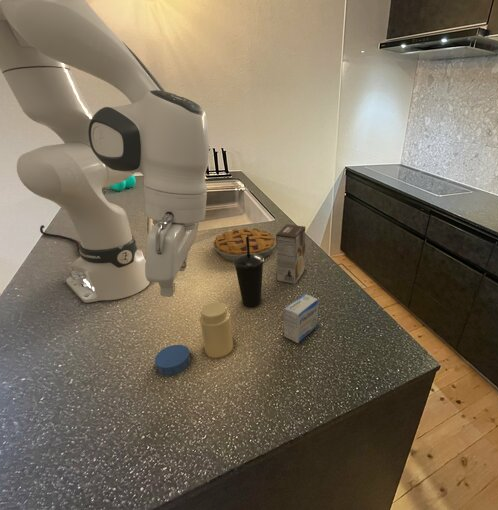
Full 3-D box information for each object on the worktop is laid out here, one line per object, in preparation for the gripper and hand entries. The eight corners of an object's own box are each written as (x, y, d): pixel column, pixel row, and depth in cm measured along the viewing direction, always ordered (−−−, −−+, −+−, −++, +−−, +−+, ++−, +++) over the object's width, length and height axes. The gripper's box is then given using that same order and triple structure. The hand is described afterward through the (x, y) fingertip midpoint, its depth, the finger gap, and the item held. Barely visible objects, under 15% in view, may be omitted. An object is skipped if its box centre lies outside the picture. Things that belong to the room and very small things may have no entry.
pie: (264, 234, 126) (263, 222, 124) (285, 256, 110) (285, 244, 108) (208, 243, 115) (206, 230, 113) (222, 269, 99) (221, 256, 97)
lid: (173, 379, 61) (171, 371, 60) (149, 368, 63) (147, 361, 62) (197, 358, 66) (195, 350, 65) (175, 348, 68) (173, 341, 67)
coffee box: (286, 267, 104) (286, 223, 96) (304, 270, 103) (306, 226, 95) (276, 280, 96) (275, 234, 88) (296, 284, 95) (296, 237, 87)
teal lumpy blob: (107, 190, 160) (101, 171, 155) (122, 185, 168) (117, 167, 164) (124, 192, 159) (119, 173, 154) (138, 188, 167) (134, 169, 163)
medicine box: (298, 344, 72) (298, 315, 68) (283, 336, 74) (283, 307, 70) (317, 326, 78) (319, 299, 74) (303, 319, 80) (304, 292, 76)
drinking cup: (240, 313, 80) (234, 245, 71) (235, 298, 86) (228, 233, 77) (269, 307, 84) (266, 241, 74) (261, 292, 89) (258, 229, 80)
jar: (199, 354, 67) (192, 315, 62) (214, 336, 72) (208, 298, 67) (224, 360, 66) (219, 320, 61) (237, 341, 71) (234, 303, 66)
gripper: (184, 227, 41) (181, 314, 46) (206, 194, 59) (202, 259, 64) (130, 221, 39) (133, 313, 44) (169, 189, 57) (168, 256, 62)
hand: (174, 281), depth 54 cm, fingers open, 8 cm apart
